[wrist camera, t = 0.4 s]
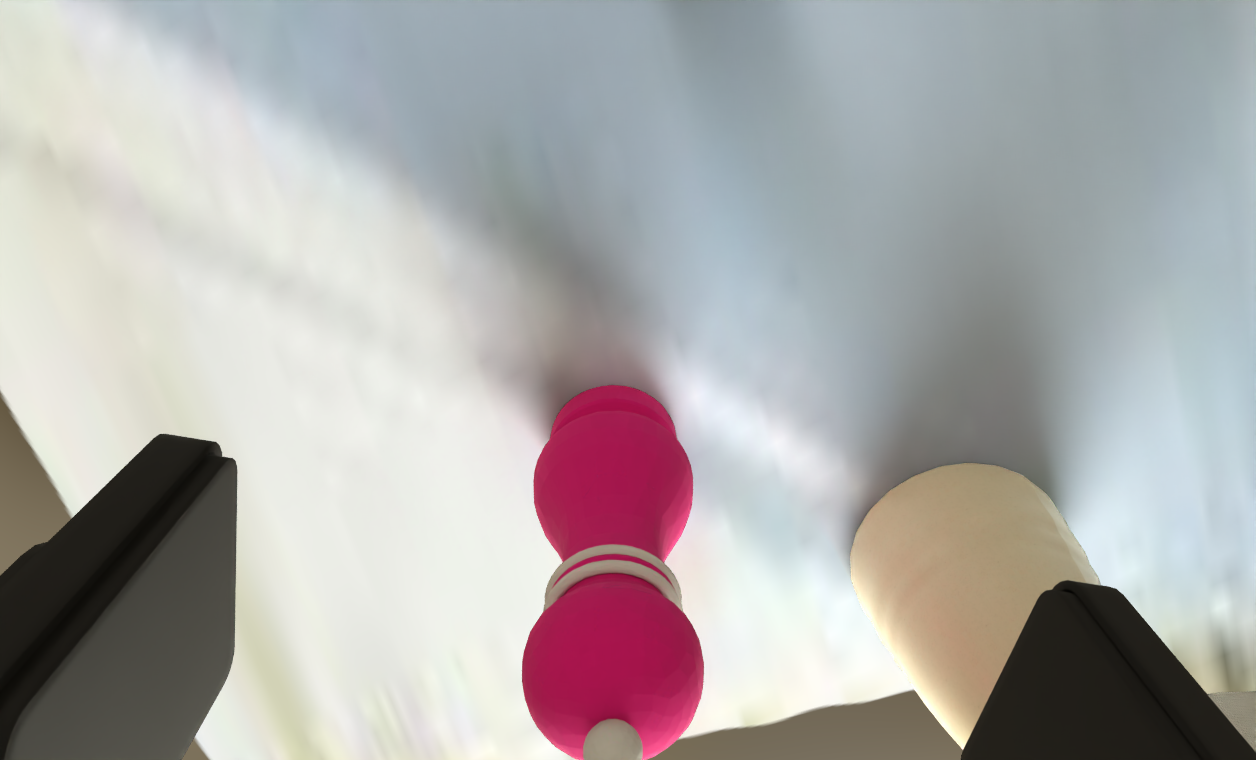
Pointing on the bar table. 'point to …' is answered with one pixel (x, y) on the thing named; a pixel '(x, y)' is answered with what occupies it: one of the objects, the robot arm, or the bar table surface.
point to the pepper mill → (613, 582)
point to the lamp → (970, 583)
